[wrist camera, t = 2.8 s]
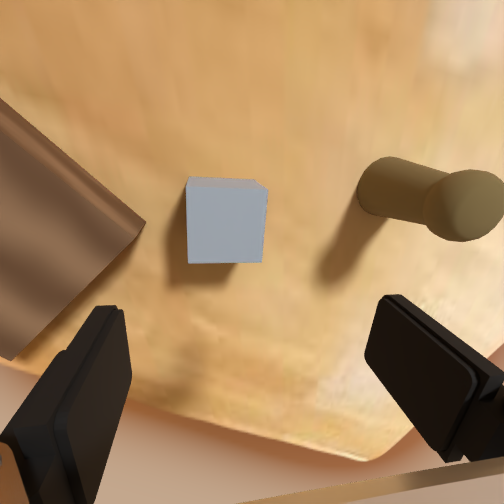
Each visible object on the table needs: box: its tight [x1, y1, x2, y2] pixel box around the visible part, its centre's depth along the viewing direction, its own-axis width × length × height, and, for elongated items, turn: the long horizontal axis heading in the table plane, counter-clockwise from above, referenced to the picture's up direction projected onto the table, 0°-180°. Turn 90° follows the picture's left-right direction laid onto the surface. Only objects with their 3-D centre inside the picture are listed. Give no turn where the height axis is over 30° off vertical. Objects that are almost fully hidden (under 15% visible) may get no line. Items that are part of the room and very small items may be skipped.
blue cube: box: [186, 177, 268, 263], centre depth 23 cm, size 6×6×6 cm
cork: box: [357, 157, 504, 242], centre depth 23 cm, size 6×6×11 cm
